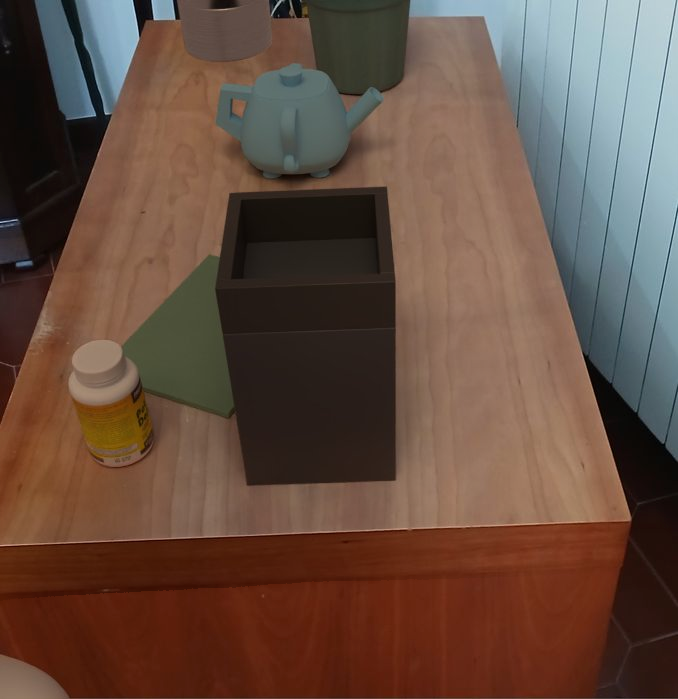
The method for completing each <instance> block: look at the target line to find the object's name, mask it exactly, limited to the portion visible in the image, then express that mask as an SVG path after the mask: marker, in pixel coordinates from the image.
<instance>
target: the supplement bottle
mask: <svg viewBox="0 0 678 699" xmlns="http://www.w3.org/2000/svg"><path fill="white" fill-rule="evenodd" d="M121 346H122V345H120V344H119V343H118V342H116V341H115V340H111V339H95V340H92V341H89V342H88V341H87V343H85V344H82V345H81V346H80V347H78V348H77V349H76V350H75V352H74V353H73V354H72V357H71V365H72V368H73V369H72V370H73V371H72V372H71V374H70V375H69V378H68V382H67V385H68V386H67V387H68V391H69V394H70V397H71V400H72V403H73V407H74V409H75V410H74V411H75V413H76V415H77V419H78V422H79V425H80V428H81V431H82V435H83V437H84V440H85V443H86V447H87V450H88V452H89V455H90V456H91V457H92V458H93V460H94V461H95V462H96V463H98V464H100V465H102V466H105V467H110V468H120V467H126V466H129V465H132V464H134V463H135V464H136V462H138V461H140V460H142V459H143V458H145V456H146V455H147V454H148V453H149V452H150V450H151V448H152V446H153V444H154V441H155V433H154V428H153V424H152V420H151V416H150V412H149V407H148V404H147V399H146V395H145V391H143V387H142V383H141V379H140V375H139V371H138V368H137V366H136V365H135V364H134V362H133V361H131V360H130V359H129V358H127V357H125V356H124V353H123V350H122V348H121Z"/></svg>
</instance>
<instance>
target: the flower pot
mask: <svg viewBox="0 0 678 699" xmlns="http://www.w3.org/2000/svg"><path fill="white" fill-rule="evenodd" d="M305 4H306V11H307V16H308V24H309V28H310V35H311V41H312V42H311V43H312V49H313V54H314V61H315V68H316V69H315V70H319V71H322V72H324V73H326V74H327V75H328V76H329V78H330V79H331V80H332V82H333V84H334V85H335V87H336V89H337V91H338V92H339V94H346V95H364V93H365V92H366V91H367V90H368V89H369V88H370V87H373V88H375V89H376V90H378V91H379V92H380V93H381V92H383V91H386V90H388V89H391V88H392V87H395V86H396V85H397V84H399V83H400V82H401V80H402V79H403V78H404V74H405V67H406V66H405V64H406V55H407V54H406V53H407V44H408V33H409V32H408V31H409V19H410V12H411V10H410V9H411V0H305Z"/></svg>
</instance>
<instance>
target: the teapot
mask: <svg viewBox="0 0 678 699" xmlns="http://www.w3.org/2000/svg"><path fill="white" fill-rule="evenodd" d="M340 94H341V93H340V92H338V91H337V89H336V87H335V85H334V84H333V82H332V80H331V79H330V78H329V76H328V75H327V74H326V73H324V72H322V71H319V70H317V69H312V68H304V67H303V64H302V63H300V62H293V63H290V64H288V65H286V66H283V67H281V68H279V69H274V70H269V71H267V72H263V73H262V74H260V75H259V76H258V77H257V78H256V79H255V81H254V83H253V85H246V84H237V83H227V82H222V84H221V87H220V89H219V95H218V101H217V109H216V117H215V125H216V126H217V127H218V128H220V129H221V130H223V131H225V132H226V133H227V134H229V135H230V136H232V137H233V138H235V139H236V140H238V141H239V142H240V147H241V152H242V153H243V155H244V157H245V158H246V159H247V161H248V162H249V163H250V164H251V165H252V166H253V167H255V169H258V170H260V171H262V172H263V173H262V176H263V177H264V178H266V179H277V178H280V177H281V176H282V175H305V174H310V176H312V177H313V178H317V179H318V178H321V179H322V178H324V177H327V176H329V175H330V170H329V169H331V168H333V167H334V166H335V167H336V165H337V164H338V163H339V162H340V161H341V160H342V158H343V157H344V155H345V154H346V152H347V150H348V148H349V145H350V141H351V135H352V133H353V132H354V131H355V130H356V129H357V128H358V127H359V126H360V125H361V124H362V123H363V122H364V121H365V120H366V119H367V118H368V117H369V116H370V115H371V114H372V113H373V112H374V111H375V110H376V109H377V108H378V107H379V106H381V104H382V103H384V101H385V98H384V96H383V94H382V93H381V91H380V92H379V91H378V90H376V89H375V88H373V87H370V88H369V89H368V90H367V91H366V92H365V93H364V94H362V95H361V96H360V98H358V99H357V101H356V102H355V103H354V104H353V105H352V106H351V108H349V110H348V111H347V110H346V109H347V108H346V107H345V103H344V101H343V99H342V97H341V95H340ZM234 100H235V101H240V102H246V103H245V106H244V110H243V112H242V117H241V116H239V115H238V114H236V113H234V112H233V103H234Z"/></svg>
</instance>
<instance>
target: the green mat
mask: <svg viewBox="0 0 678 699" xmlns="http://www.w3.org/2000/svg"><path fill="white" fill-rule="evenodd" d="M219 259H220V256H217V255H213V254H208V255H207V256H205V258H204V259H203V260H202V261H201V262H200V263H199V265H197V266H196V267H195V268H194V270H192V272H191V273H190V274H189V275H187V277H186V278H185V279H184V280H183V281H182V282H181V283H180V284H179V285H178V286H177V287H176V288H175V290H173V292H172V293H170V294H169V296H168V297H167V298H166V299H165V300H164V301H163V302H162V303H161V304H160V305H159V306H158V307H157V308H156V309H155V310H154V311H153V312H152V313H151V315H149V316H148V318H146V320H145V321H144V322H143V323H142V324H141V325H140V326H139V327H138V328H137V329H136V330H135V331H134V332H133V333H132V335H130V336H129V338H127V339H126V341H124V343H123V344H122V345H120V346H121V348H122V350H123V353H124V356H125V357H127V358H129V359H130V360H131V361H133V362H134V364H135V365H136V366H137V368H138V371H139V375H140V379H141V383H142V387H143V391H144V393H148V394H151V395H154V396H157V397H160V398H164V399H167V400H170V401H172V402H176V403H179V404H182V405H186V406H188V407H192V408H195V409H199V410H201V411H204V412H207V413H211V414H214V415H217V416H220V417H222V418H226V419H230V418H231V416H232V415H233V414H234V413H235V408H234V402H233V396H232V390H231V384H230V377H229V371H228V365H227V359H226V353H225V347H224V341H223V333H222V329H221V322H220V316H219V310H218V304H217V298H216V292H215V285H216V279H217V272H218V266H219Z"/></svg>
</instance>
